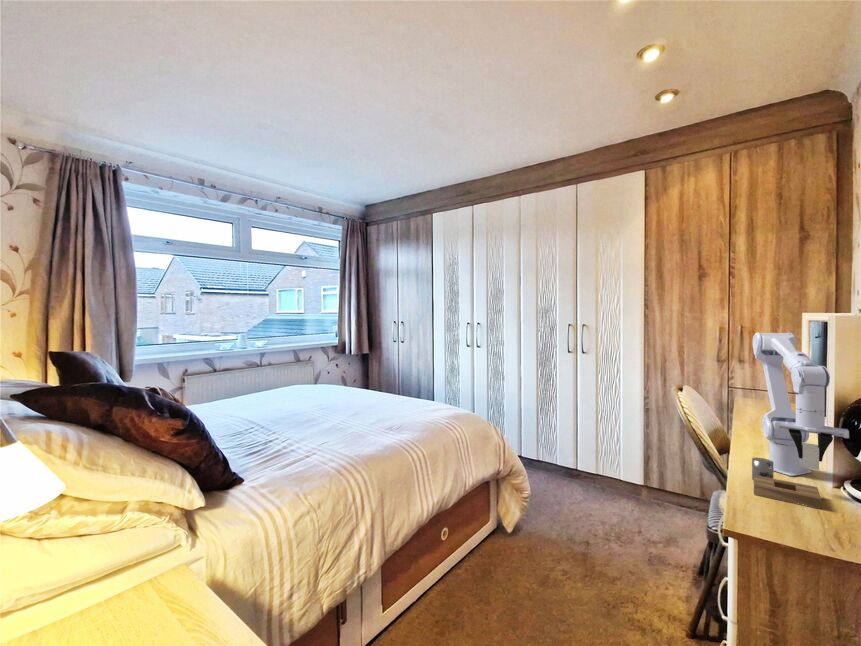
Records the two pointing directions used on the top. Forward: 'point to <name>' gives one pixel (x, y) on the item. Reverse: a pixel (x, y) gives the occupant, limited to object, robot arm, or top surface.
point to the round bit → (762, 468)
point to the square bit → (810, 456)
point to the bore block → (787, 491)
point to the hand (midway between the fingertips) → (809, 458)
